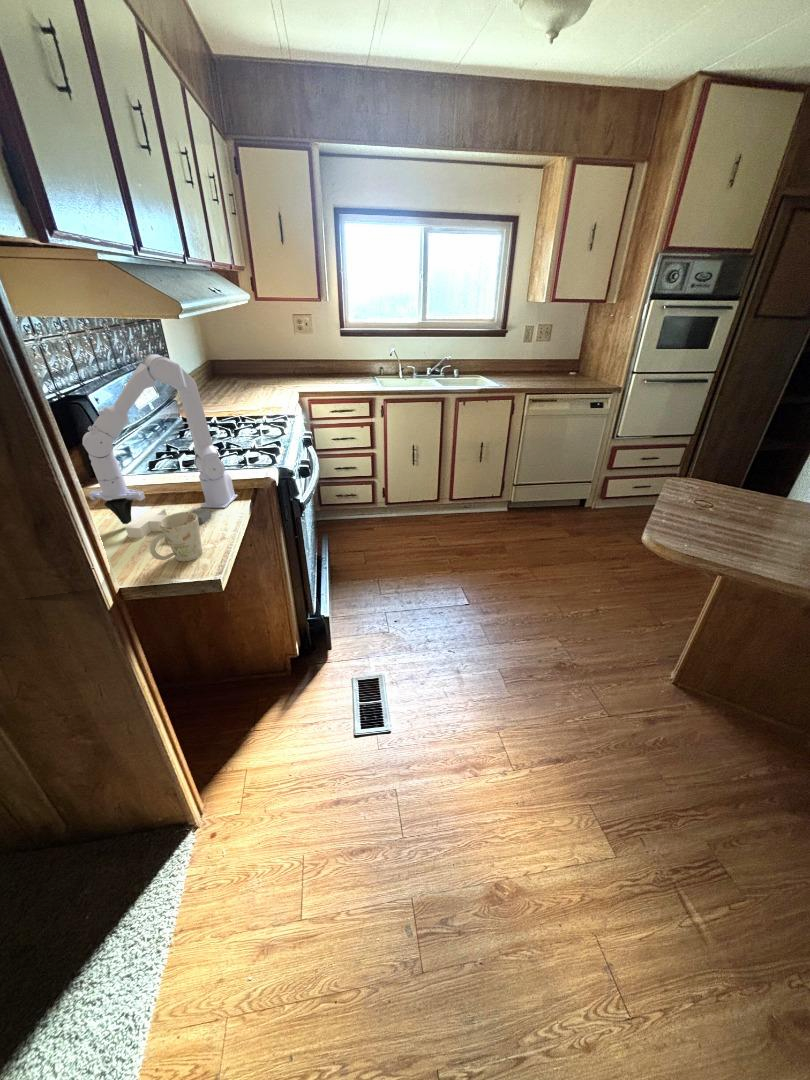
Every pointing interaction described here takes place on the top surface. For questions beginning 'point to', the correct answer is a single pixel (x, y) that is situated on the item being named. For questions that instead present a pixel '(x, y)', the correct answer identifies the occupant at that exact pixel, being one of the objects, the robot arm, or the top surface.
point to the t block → (146, 523)
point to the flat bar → (200, 516)
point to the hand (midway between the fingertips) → (127, 522)
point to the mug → (179, 537)
